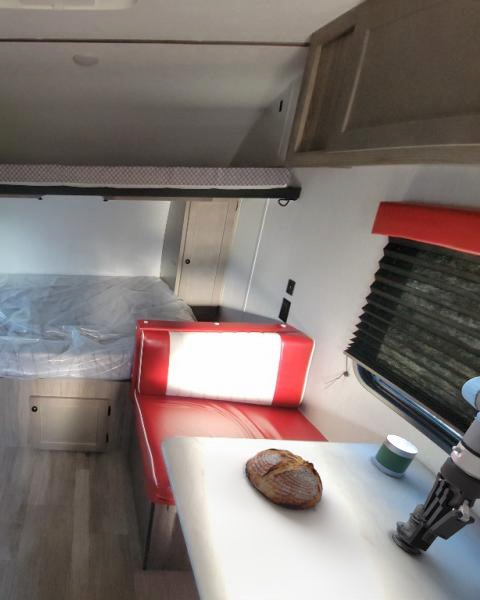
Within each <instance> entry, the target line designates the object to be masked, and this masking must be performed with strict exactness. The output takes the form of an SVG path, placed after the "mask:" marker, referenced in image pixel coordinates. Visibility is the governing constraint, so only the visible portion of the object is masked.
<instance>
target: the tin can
mask: <svg viewBox="0 0 480 600" xmlns="http://www.w3.org/2000/svg"><path fill="white" fill-rule="evenodd" d="M418 452H419V450H418V448H417V447H416V446H415V445H414V443H412V442H410V441H409V440H407V439H405V438H403V437H401V436H398V435H394V434H388V435H387V436H386V437H385V439H384V440H383V442H382V444H381V445H380V447H379V449H378V451H377V452H376V453H375V455H374V457H373V459H372V462H373V464H374V466H375V467H376V468H377V469H378V470H380V471H381V472H383V473H384V474H386V475H387V476H391V477H393V478H402V477H403V476H404V474H405V473H406V471H407V469H408V468H409V466H410V465H411V463H412V462H413V460H414V459H415V458H416V455H417V454H418Z"/></svg>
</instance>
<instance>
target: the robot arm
mask: <svg viewBox="0 0 480 600" xmlns="http://www.w3.org/2000/svg"><path fill="white" fill-rule="evenodd" d="M461 396H462V397H463V399H464V400H465V401H466V402H467V403H469V404H470V405H471V406H472V407H473V408H475V409H476V411H478V412H477V414H476V417H475V418H474V420H473V422H472V423H471V425H470V426H469V428H468V429H467V430H466V432H465V434H464V435H463V436H462V438H461V439H460V440H459V442H458V443H457V444H456V445H453V446H452V448H451V449H452V452H451V453H450V456H448V457H447V458H446V459H445V461H444V462H443V464H442V465H441V467H440V468H439V471H438V472H437V473H436V477H435V481H434V483H433V484H432V485H433V486H432V487H431V489H430V491H429V493H428V495H427V497H426V499H425V501H424V503H423V507H422V511H424V512H425V513H424V514H423V519H424V520H422V521H421V523H420V524H419V525H418V527H417V528H416V529H415V531H414V532H413V533H412V535H411V536H410V537H409V543H410V544H411V545H413V546H415V547H417V548H419V549H420V550H421V551H423V552H424V553H426V552H427V551H428V550H429V549H430V547H431V546H432V544H433V543H434V542H435V541H436V539H437V538H441V539H443V540H444V541H447V540H449V539H450V538H451V537H452V536H454V535H456V534H457V533H458V532H459V531H460V530H462V529H463V528H465V527H466V526H468V525H471V524H474V523H475V522H476V518H475V517H474V516H472V515H470V509H472V508H473V507H474V506H475V503H476V502H477V501H476V500H480V376H476V377H472V378H471V379H469V380H467V381H466V382H465V383H464V384H463V386H462V388H461Z"/></svg>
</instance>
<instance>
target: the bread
mask: <svg viewBox="0 0 480 600" xmlns="http://www.w3.org/2000/svg"><path fill="white" fill-rule="evenodd" d="M244 470H245V474H246V475H245V476H246V477H248V479H249V480H250V483H251V485H252V486H254V487H255V489H257V490H258V491H259V492H260V493H261V494H262V495H264V496H265V497H266V498H268V500H270V501H272V502H273V503H274V504H276V505H278V506H280V507H284V508H288V509H293V510H307V509H312V508H313V507H315V506H317V504H318V503H320V502H321V500H322V496H323V490H324V488H323V486H324V485H323V481H322V478H321V475H320V474H319V472H318V470H317V469H316V468H315V464H314V463H313V462H309V460H305V459H303V458H302V456H300V455H297V454H294V453H293V452H292V451H289V450H288V449H282V448H273V447H270V448H268V449H264V450H261V451H259V452H257V453H256V454H255V455H254V456H252V457H250V458H249V459H248V460H247V461H246V462H245V468H244Z"/></svg>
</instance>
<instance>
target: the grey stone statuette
mask: <svg viewBox="0 0 480 600" xmlns="http://www.w3.org/2000/svg"><path fill="white" fill-rule="evenodd" d="M423 505H424V503H417V505H416V506H415V508H414V509H413V511H412V512H410V513H409V518H408V520H407V521H406V522H405V521H397V522H396V523H395V525H396V533H393V534H392V535H391V538H392V540H393V541H394V542H395V543H396V544H397V545H398V546H399V547H400V548H402V549H403V550H405V551H406V552H408V553H411V554H413V555H415V556H421V555H422V550H421V549H419V548H417V547H415V546H413V545H411V544H410V543H409V537H410V536H411V535H412V533H413V532H414V531H415V529H416V528H417V527H418V525H419V524H420V523H421V521H422V520H424V519H423V514H424V513H425V512H424V511H422V507H423Z"/></svg>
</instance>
